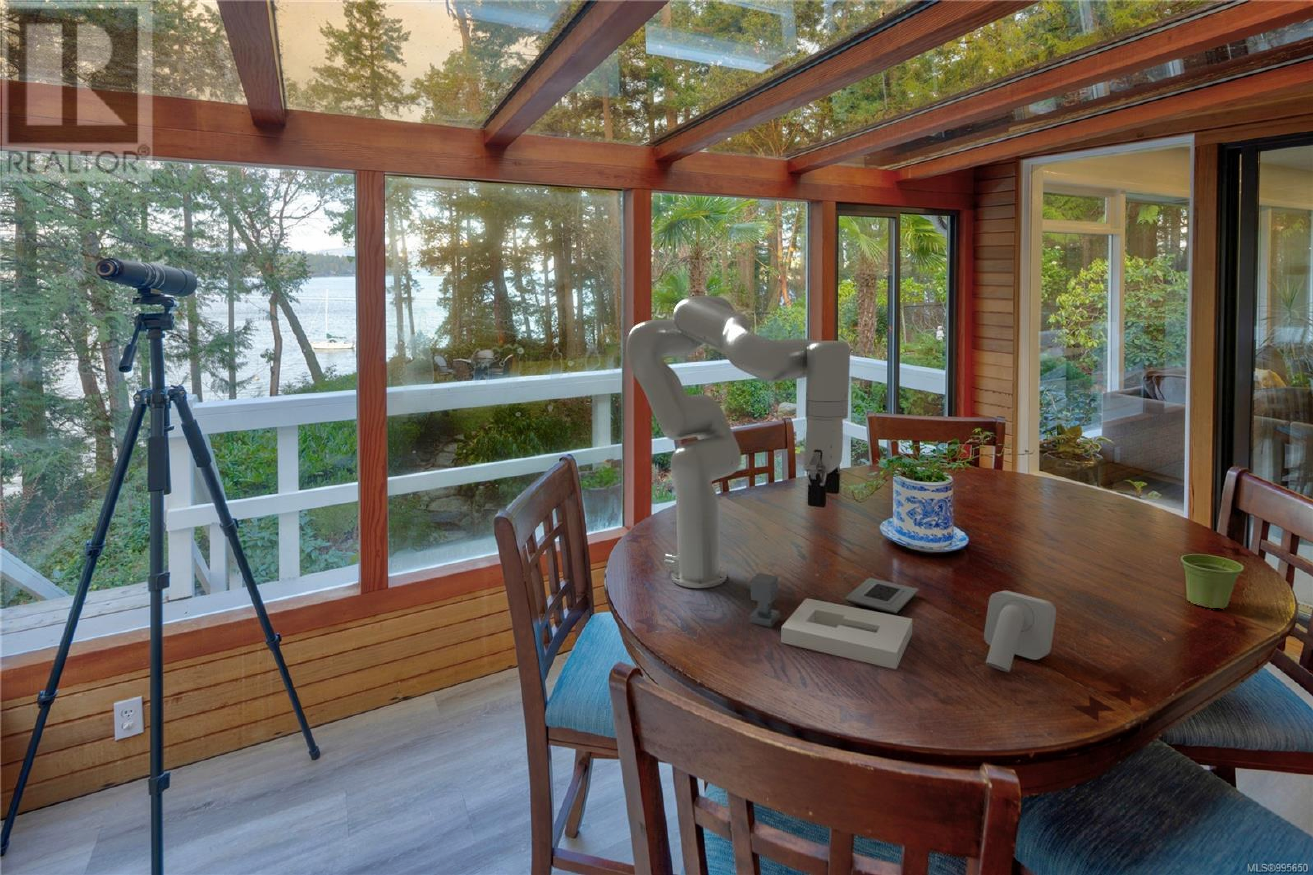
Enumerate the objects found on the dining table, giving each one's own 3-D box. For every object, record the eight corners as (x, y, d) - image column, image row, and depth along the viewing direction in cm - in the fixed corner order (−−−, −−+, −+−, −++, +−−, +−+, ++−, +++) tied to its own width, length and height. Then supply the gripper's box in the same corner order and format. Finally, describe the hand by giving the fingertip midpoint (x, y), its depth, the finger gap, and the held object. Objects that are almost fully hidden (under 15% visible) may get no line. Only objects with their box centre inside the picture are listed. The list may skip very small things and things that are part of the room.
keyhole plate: (781, 642, 120) (781, 627, 120) (806, 612, 132) (806, 598, 131) (896, 669, 110) (896, 652, 109) (911, 634, 122) (912, 618, 121)
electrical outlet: (869, 586, 144) (869, 576, 144) (918, 598, 138) (918, 587, 137) (844, 607, 134) (844, 596, 134) (896, 621, 128) (896, 610, 127)
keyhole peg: (749, 622, 128) (749, 580, 127) (758, 613, 132) (758, 572, 130) (771, 627, 126) (771, 584, 125) (779, 618, 130) (779, 576, 128)
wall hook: (963, 662, 110) (973, 593, 110) (988, 652, 119) (998, 588, 118) (1025, 684, 103) (1036, 609, 103) (1047, 671, 112) (1057, 603, 112)
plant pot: (1232, 619, 124) (1238, 575, 122) (1170, 603, 131) (1175, 562, 129) (1243, 604, 129) (1248, 562, 128) (1183, 590, 137) (1187, 550, 135)
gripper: (819, 402, 130) (816, 486, 133) (792, 414, 115) (790, 509, 119) (858, 403, 127) (854, 490, 130) (835, 417, 112) (832, 514, 115)
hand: (823, 499), depth 124 cm, fingers open, 9 cm apart
